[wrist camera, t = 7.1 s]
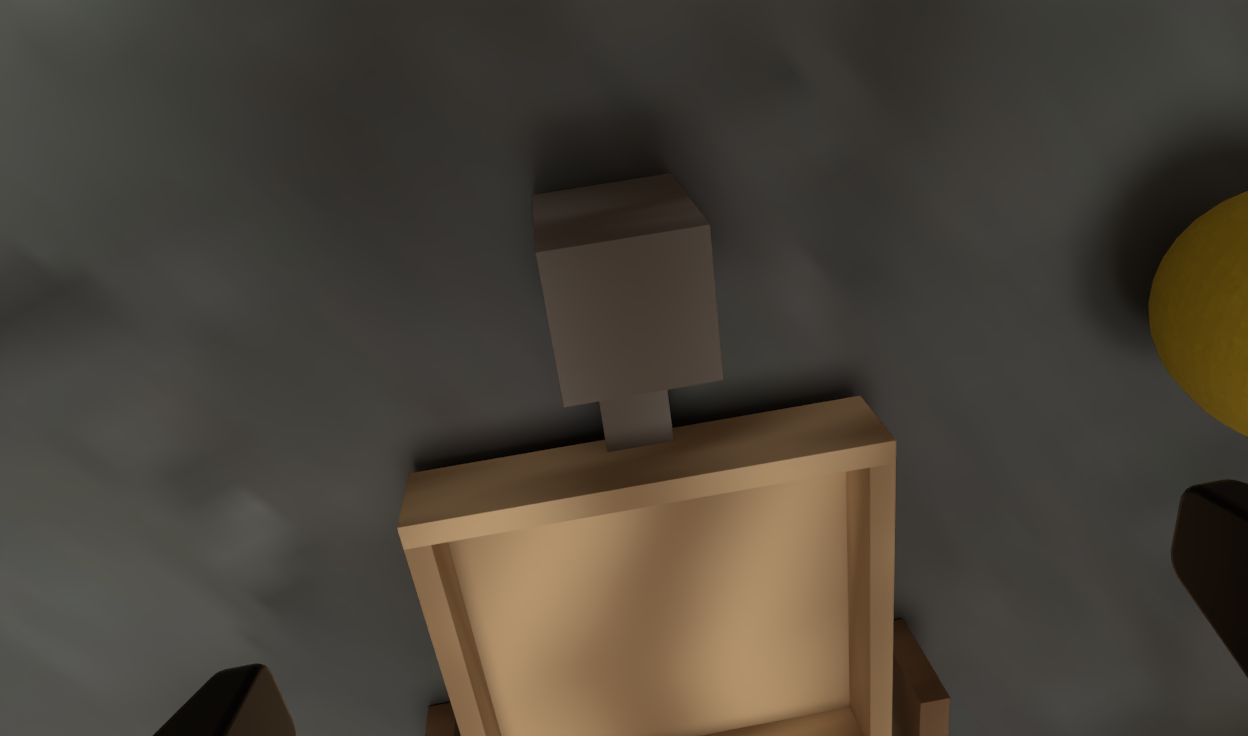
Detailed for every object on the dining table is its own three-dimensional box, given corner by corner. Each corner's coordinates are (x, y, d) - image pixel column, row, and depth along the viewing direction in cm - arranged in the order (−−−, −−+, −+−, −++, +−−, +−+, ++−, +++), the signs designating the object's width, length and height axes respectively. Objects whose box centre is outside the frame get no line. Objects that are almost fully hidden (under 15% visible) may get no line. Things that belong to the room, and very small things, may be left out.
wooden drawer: (858, 143, 18) (943, 187, 15) (862, 702, 26) (918, 822, 22) (337, 225, 18) (291, 292, 14) (494, 771, 25) (491, 906, 21)
